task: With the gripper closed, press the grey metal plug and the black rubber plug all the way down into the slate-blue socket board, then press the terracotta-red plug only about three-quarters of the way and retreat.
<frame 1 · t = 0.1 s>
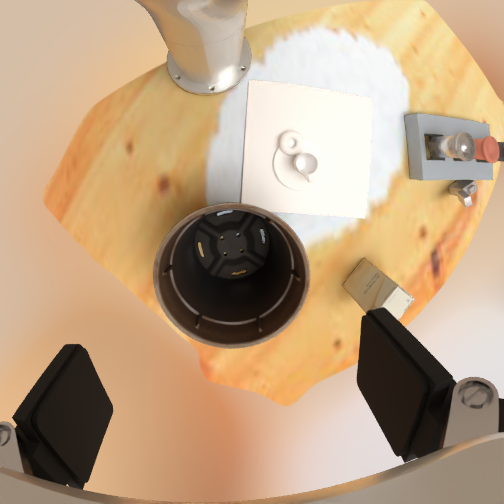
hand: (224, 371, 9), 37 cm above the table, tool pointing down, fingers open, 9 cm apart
plug black: (497, 151, 36), point 8 cm above the table, slide at 0.0 cm
plug red: (476, 149, 36), point 8 cm above the table, slide at 0.0 cm
plant pot: (230, 243, 46), on the table, touching teacup and saucer
skincare box: (360, 277, 49), on the table
grey white bent piece: (450, 189, 46), on the table
plug grey: (450, 146, 36), point 8 cm above the table, slide at 0.0 cm
teacup and saucer: (311, 148, 42), on the table, touching plant pot
socket board: (447, 148, 44), on the table
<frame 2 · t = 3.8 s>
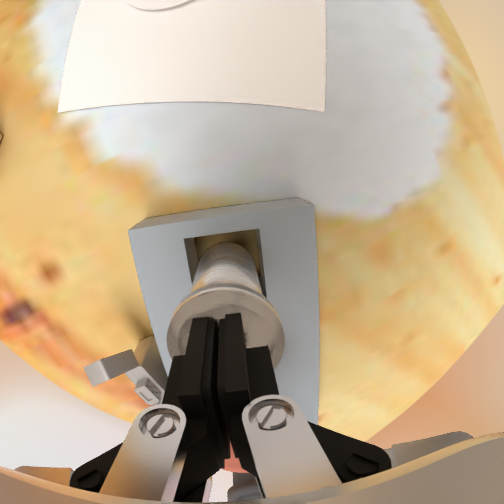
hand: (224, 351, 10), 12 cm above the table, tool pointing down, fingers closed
plug black: (256, 457, 17), point 8 cm above the table, slide at 0.0 cm
plug red: (244, 399, 16), point 8 cm above the table, slide at 0.0 cm
grey white bent piece: (149, 342, 23), on the table
plug grey: (226, 298, 14), point 8 cm above the table, slide at 0.2 cm, touching gripper
socket board: (238, 329, 23), on the table
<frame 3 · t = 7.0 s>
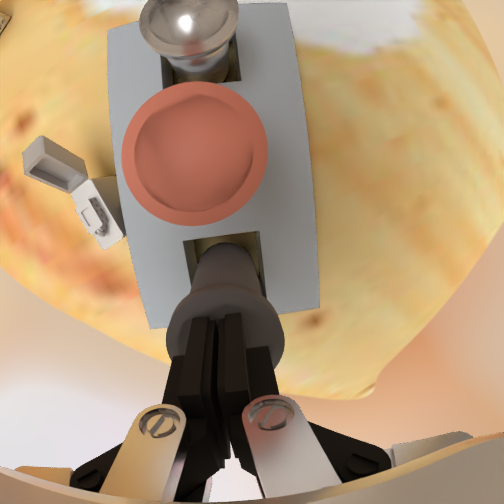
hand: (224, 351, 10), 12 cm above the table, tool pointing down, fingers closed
plug black: (225, 298, 14), point 8 cm above the table, slide at 0.4 cm, touching gripper
plug red: (204, 156, 12), point 8 cm above the table, slide at 0.0 cm
grey white bent piece: (111, 187, 19), on the table
plug grey: (196, 46, 13), point 5 cm above the table, slide at 3.2 cm
socket board: (214, 160, 19), on the table
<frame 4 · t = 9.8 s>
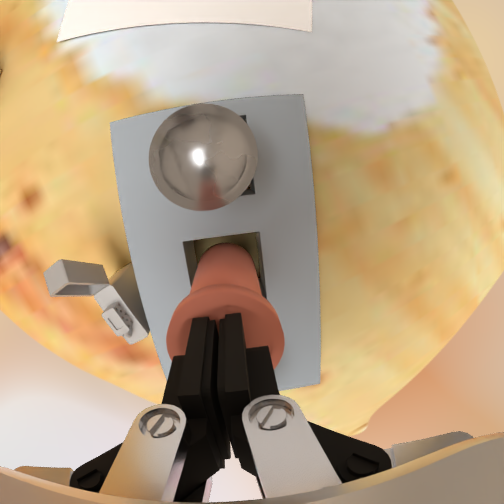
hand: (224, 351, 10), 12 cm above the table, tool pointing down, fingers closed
plug red: (225, 299, 14), point 8 cm above the table, slide at 0.6 cm, touching gripper
grey white bent piece: (127, 273, 21), on the table
plug grey: (209, 159, 15), point 5 cm above the table, slide at 3.2 cm
socket board: (226, 253, 21), on the table
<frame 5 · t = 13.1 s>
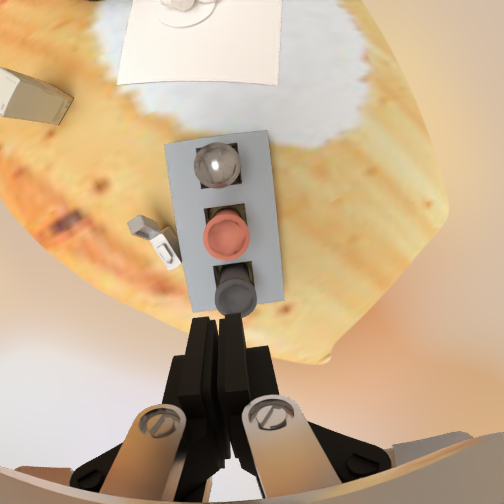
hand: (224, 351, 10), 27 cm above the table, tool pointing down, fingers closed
plug black: (234, 284, 33), point 5 cm above the table, slide at 3.1 cm
plug red: (226, 229, 30), point 6 cm above the table, slide at 2.3 cm
skincare box: (53, 104, 30), on the table
grey white bent piece: (166, 232, 36), on the table
plug grey: (218, 165, 30), point 5 cm above the table, slide at 3.2 cm
teacup and saucer: (202, 15, 28), on the table, touching plant pot
socket board: (227, 219, 36), on the table
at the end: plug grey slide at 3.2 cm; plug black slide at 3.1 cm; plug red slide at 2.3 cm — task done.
